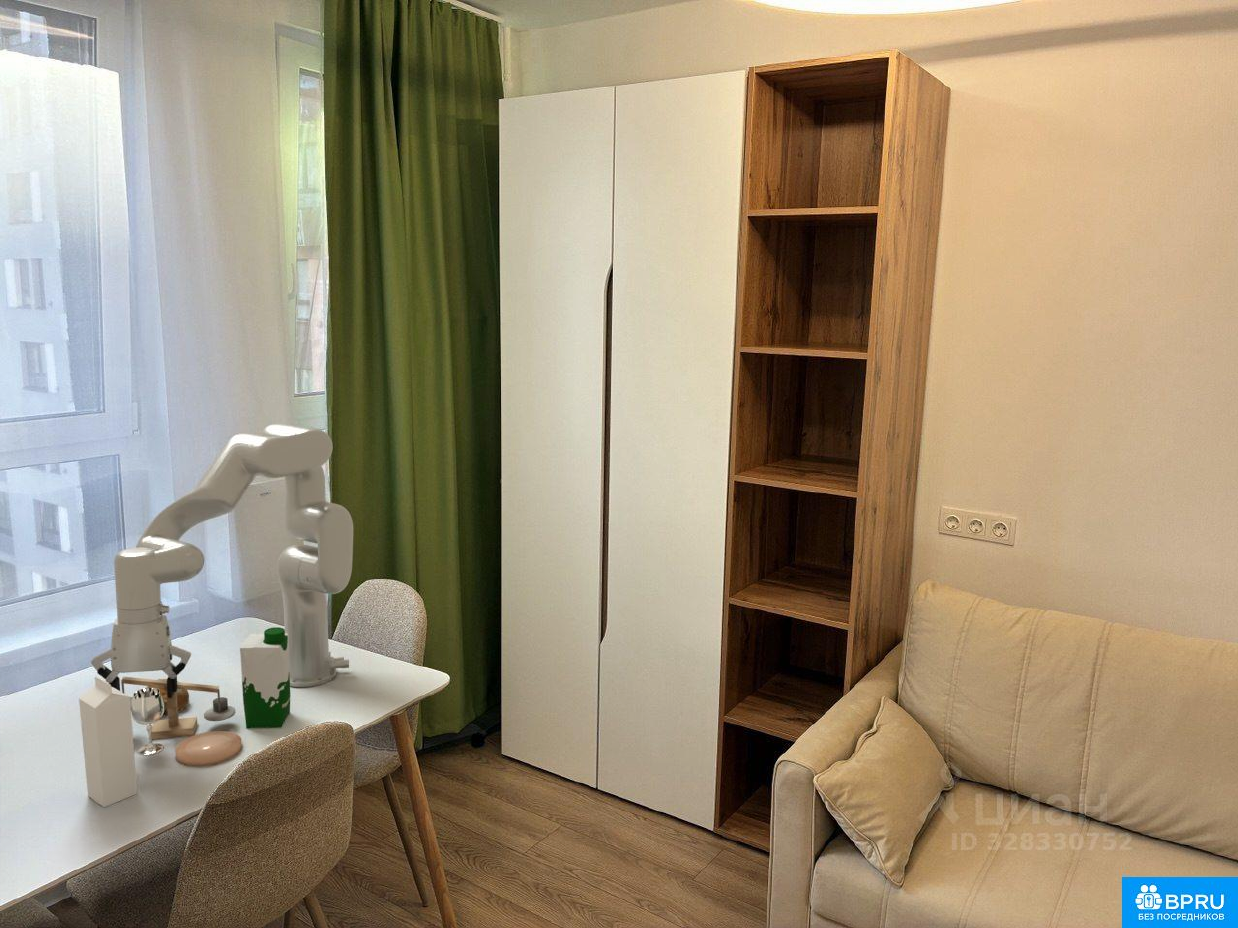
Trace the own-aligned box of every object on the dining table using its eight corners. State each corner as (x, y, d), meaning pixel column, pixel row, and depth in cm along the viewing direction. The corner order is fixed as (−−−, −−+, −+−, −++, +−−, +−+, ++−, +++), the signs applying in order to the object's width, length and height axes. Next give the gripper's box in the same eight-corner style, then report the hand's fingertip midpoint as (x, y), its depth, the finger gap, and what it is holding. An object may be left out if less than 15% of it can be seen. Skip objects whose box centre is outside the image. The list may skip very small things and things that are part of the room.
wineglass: (173, 743, 186) (169, 687, 184) (156, 757, 181) (152, 700, 178) (145, 741, 187) (141, 685, 185) (128, 755, 181) (123, 698, 179)
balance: (237, 718, 197) (234, 663, 195) (234, 732, 192) (230, 675, 189) (114, 730, 191) (109, 672, 189) (106, 744, 185) (101, 685, 183)
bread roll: (194, 720, 204) (204, 683, 205) (159, 720, 194) (170, 681, 196) (158, 712, 207) (168, 676, 208) (122, 712, 197) (133, 674, 199)
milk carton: (284, 729, 193) (280, 638, 189) (239, 730, 192) (234, 639, 188) (295, 710, 202) (291, 622, 198) (252, 711, 201) (247, 623, 197)
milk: (121, 782, 172) (112, 670, 168) (138, 793, 169) (129, 679, 164) (86, 796, 167) (77, 681, 163) (103, 808, 164) (93, 690, 160)
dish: (245, 733, 191) (244, 727, 191) (238, 762, 180) (237, 756, 180) (181, 739, 188) (181, 733, 188) (170, 769, 177) (169, 763, 177)
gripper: (192, 604, 184) (195, 686, 187) (94, 608, 179) (99, 692, 182) (185, 617, 177) (189, 702, 180) (83, 622, 172) (88, 709, 175)
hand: (144, 697), depth 181 cm, fingers open, 9 cm apart
